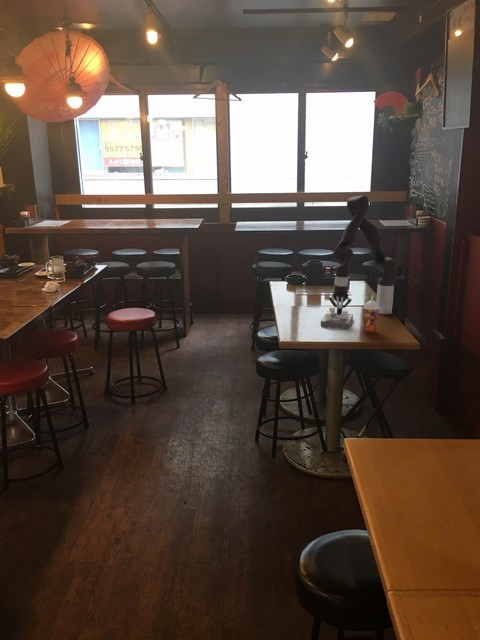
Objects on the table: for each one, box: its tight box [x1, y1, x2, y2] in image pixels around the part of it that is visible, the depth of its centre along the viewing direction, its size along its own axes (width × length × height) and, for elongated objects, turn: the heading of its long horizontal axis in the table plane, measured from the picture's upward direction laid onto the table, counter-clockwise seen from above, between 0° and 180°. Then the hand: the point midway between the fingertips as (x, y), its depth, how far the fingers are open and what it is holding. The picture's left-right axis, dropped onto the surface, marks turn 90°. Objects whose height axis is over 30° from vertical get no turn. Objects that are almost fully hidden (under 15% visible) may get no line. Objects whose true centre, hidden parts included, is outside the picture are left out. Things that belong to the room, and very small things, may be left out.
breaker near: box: [325, 310, 332, 321], centre depth 308 cm, size 2×5×4 cm, turn 162°
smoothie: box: [362, 295, 380, 334], centre depth 295 cm, size 8×8×20 cm
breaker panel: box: [320, 312, 354, 330], centre depth 314 cm, size 15×20×3 cm
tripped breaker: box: [342, 309, 349, 319], centre depth 311 cm, size 2×5×4 cm, turn 162°
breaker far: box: [329, 305, 336, 315], centre depth 320 cm, size 2×5×4 cm, turn 162°
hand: (339, 314), depth 312 cm, fingers closed
